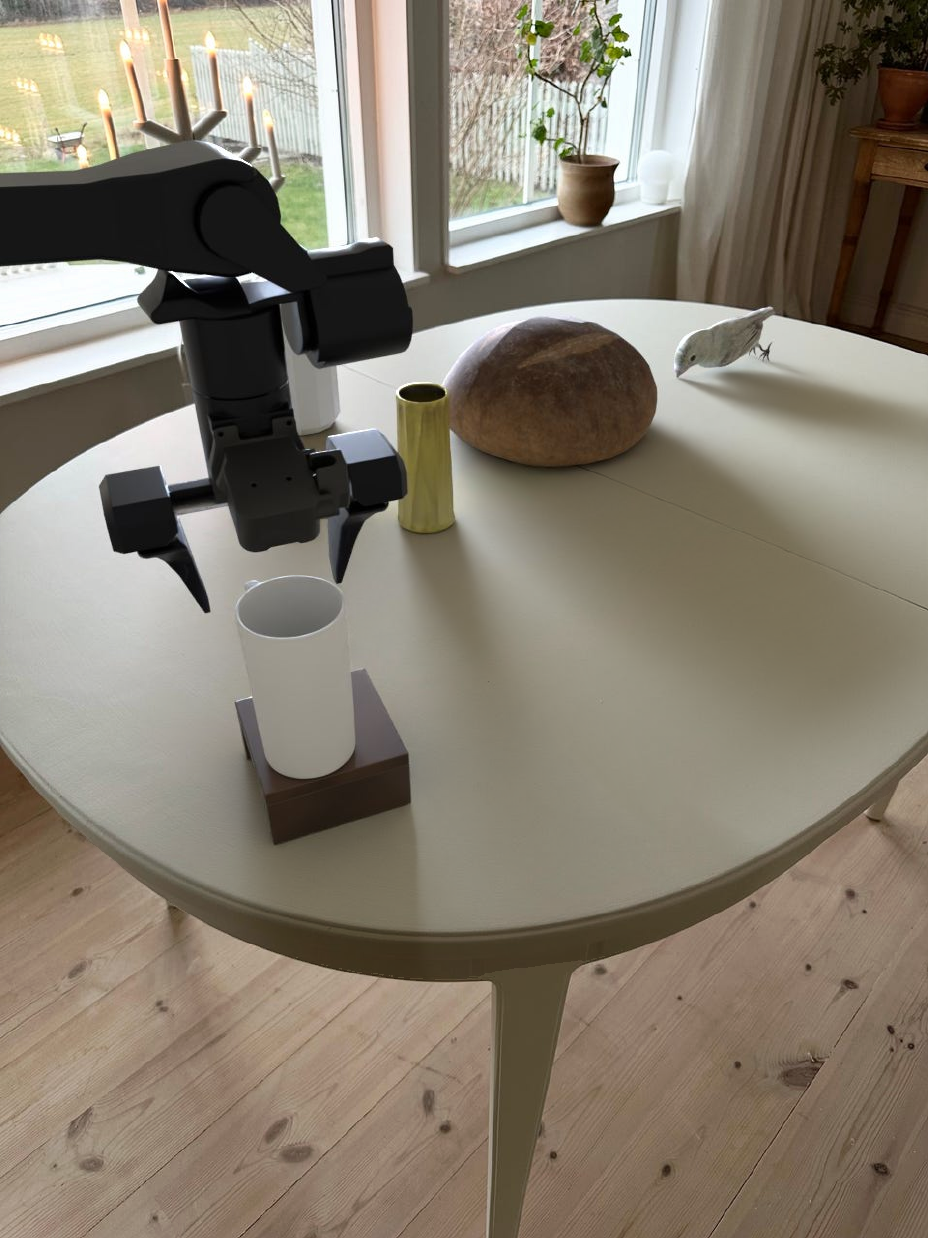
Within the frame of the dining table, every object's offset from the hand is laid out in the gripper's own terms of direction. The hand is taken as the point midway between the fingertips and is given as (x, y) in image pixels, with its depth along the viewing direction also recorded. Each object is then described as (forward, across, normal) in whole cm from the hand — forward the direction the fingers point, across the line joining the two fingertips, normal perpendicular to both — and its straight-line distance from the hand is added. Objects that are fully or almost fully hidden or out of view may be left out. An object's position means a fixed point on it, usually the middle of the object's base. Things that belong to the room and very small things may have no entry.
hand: (273, 595), depth 64 cm
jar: (+13, +15, +56) cm, 59 cm away
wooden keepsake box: (+13, +1, -6) cm, 14 cm away
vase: (+13, +21, +27) cm, 36 cm away
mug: (+8, -1, -6) cm, 10 cm away
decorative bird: (+13, +75, +51) cm, 91 cm away
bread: (+13, +43, +43) cm, 62 cm away
